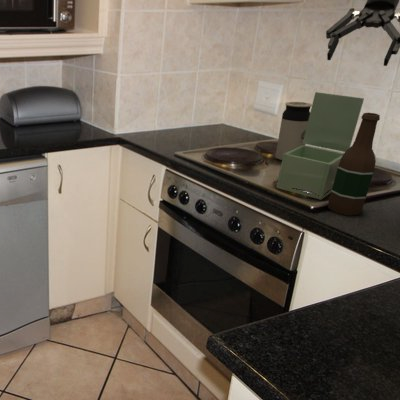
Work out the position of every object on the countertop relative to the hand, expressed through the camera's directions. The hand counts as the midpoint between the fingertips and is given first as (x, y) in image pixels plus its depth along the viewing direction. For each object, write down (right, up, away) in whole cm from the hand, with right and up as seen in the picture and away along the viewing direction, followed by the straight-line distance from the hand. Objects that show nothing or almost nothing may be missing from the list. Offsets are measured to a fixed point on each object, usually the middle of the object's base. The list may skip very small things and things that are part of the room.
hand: (356, 59), depth 130 cm
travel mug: (-5, -25, +26) cm, 36 cm away
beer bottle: (-11, -41, -12) cm, 44 cm away
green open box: (-13, -35, +2) cm, 37 cm away
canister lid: (-7, -17, -1) cm, 19 cm away
